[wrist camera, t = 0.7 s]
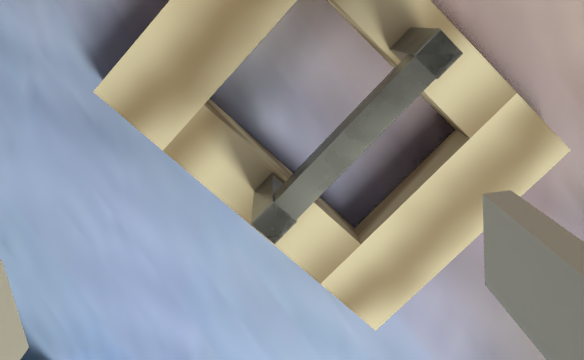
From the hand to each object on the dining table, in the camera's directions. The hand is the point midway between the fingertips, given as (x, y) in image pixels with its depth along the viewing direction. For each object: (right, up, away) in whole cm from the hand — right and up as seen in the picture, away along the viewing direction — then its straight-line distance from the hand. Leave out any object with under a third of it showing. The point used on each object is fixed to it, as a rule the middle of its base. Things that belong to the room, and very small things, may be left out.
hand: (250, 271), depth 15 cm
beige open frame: (+4, +7, +23) cm, 24 cm away
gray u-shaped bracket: (+4, +7, +23) cm, 24 cm away
